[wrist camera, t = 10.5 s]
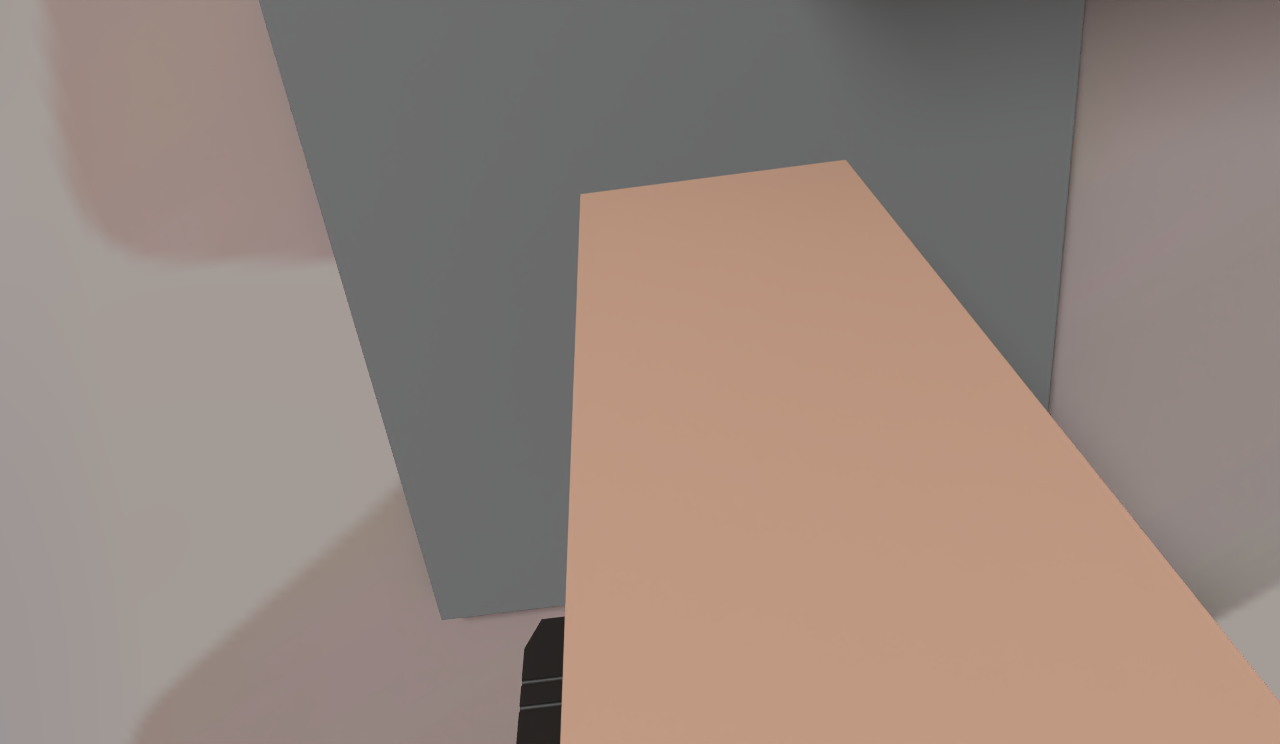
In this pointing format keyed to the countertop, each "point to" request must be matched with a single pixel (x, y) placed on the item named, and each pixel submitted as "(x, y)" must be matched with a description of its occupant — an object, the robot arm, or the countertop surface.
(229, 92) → the countertop surface
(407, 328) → the mat
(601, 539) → the salmon pink block
